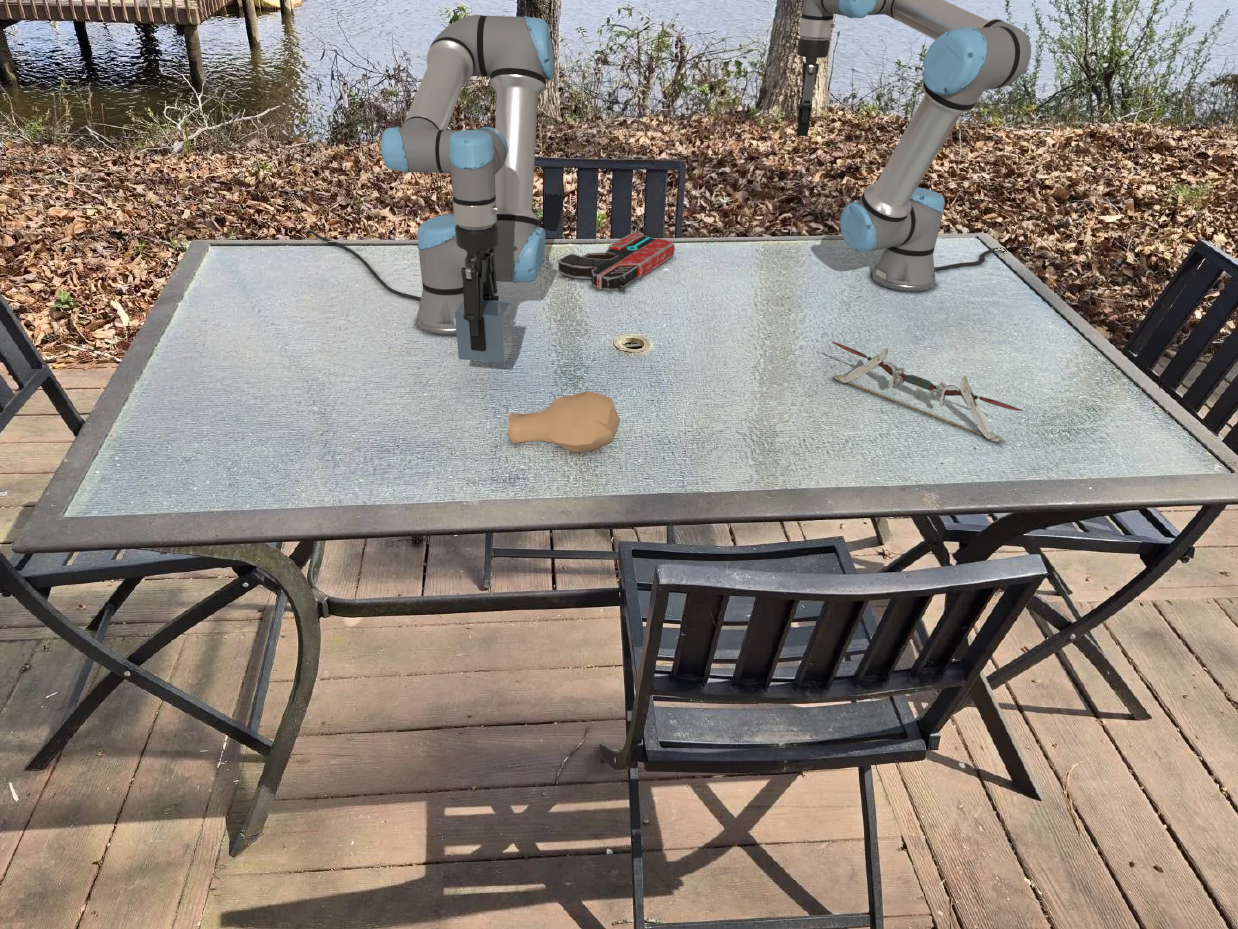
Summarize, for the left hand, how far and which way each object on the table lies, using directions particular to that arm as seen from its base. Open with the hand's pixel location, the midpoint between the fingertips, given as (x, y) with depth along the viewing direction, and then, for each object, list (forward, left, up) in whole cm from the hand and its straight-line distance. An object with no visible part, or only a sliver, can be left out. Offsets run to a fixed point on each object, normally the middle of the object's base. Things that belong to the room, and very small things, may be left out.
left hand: (483, 341), depth 169 cm
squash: (+27, -3, -9) cm, 29 cm away
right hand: (-7, +108, +23) cm, 110 cm away
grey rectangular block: (0, 0, -3) cm, 3 cm away
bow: (+63, +55, -9) cm, 84 cm away
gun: (-27, +63, -9) cm, 69 cm away
